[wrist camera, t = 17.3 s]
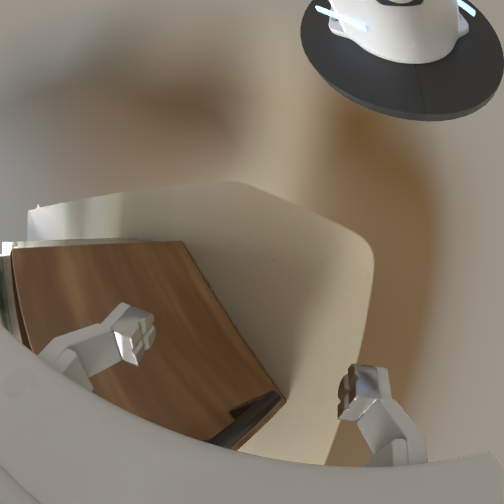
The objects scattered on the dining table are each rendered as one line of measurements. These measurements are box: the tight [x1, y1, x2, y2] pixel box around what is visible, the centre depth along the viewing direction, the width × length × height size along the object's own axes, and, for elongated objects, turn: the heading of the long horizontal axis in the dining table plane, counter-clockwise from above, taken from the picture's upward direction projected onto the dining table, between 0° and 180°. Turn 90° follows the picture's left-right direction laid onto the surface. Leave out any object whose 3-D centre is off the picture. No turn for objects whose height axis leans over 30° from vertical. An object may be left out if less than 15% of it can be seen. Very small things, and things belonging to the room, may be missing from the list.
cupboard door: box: [12, 241, 287, 451], centre depth 23 cm, size 7×26×24 cm, turn 41°
